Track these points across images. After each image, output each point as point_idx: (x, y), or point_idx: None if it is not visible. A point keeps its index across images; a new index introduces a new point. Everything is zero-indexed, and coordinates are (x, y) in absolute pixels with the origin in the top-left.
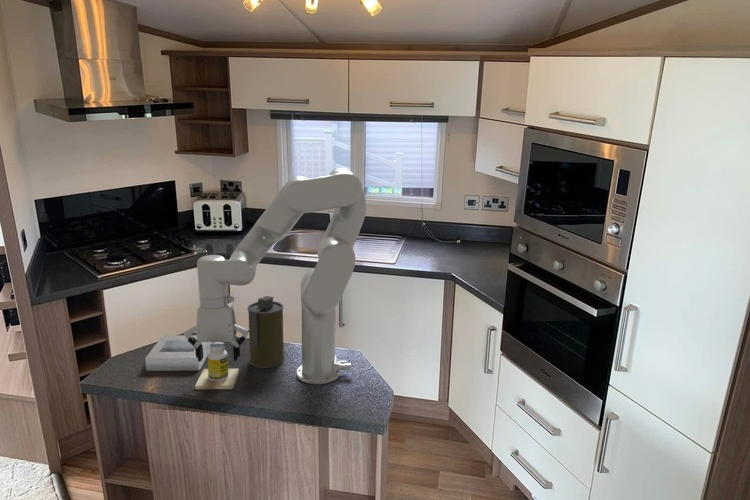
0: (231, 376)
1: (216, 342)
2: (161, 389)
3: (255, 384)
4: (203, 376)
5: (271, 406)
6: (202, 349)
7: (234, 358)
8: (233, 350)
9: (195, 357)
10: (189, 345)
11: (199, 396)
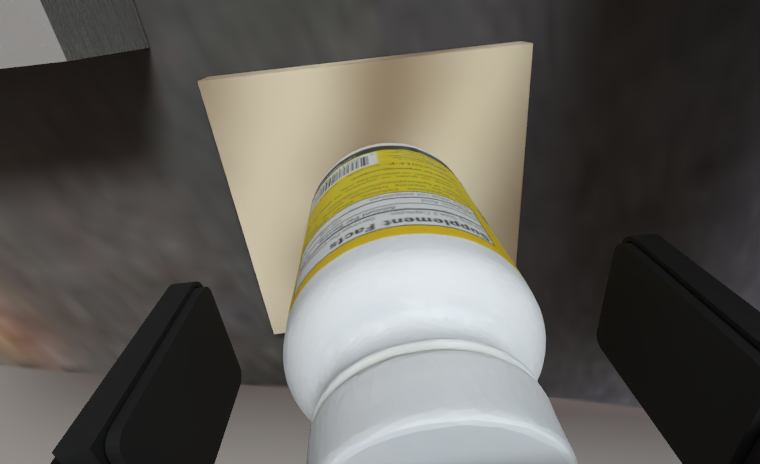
0: (486, 194)
1: (398, 448)
2: (73, 337)
3: (647, 227)
4: (267, 217)
5: None
6: (166, 381)
7: (620, 363)
8: (685, 459)
9: (16, 53)
10: None
11: None
